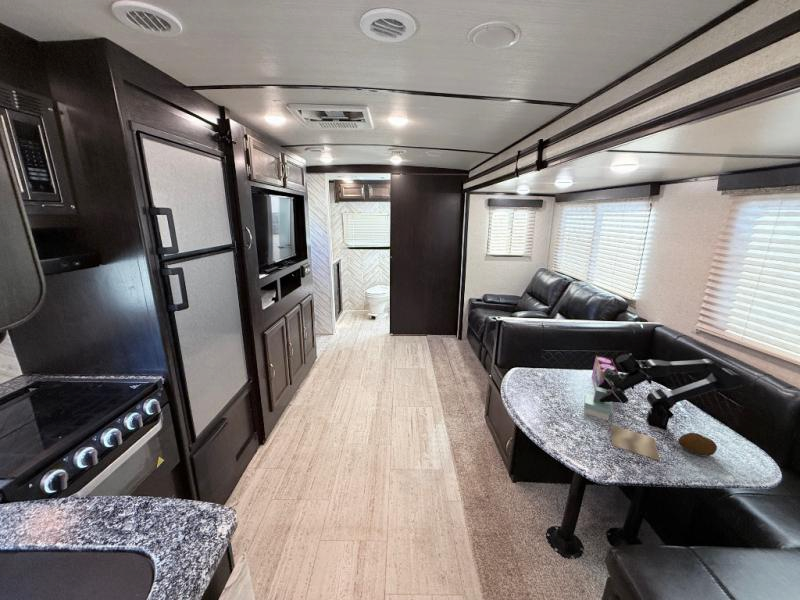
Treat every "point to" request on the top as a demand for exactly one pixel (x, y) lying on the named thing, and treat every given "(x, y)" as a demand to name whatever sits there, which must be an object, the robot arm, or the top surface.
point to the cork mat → (634, 442)
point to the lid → (598, 402)
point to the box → (596, 414)
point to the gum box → (602, 370)
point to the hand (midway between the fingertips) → (597, 395)
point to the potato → (697, 444)
